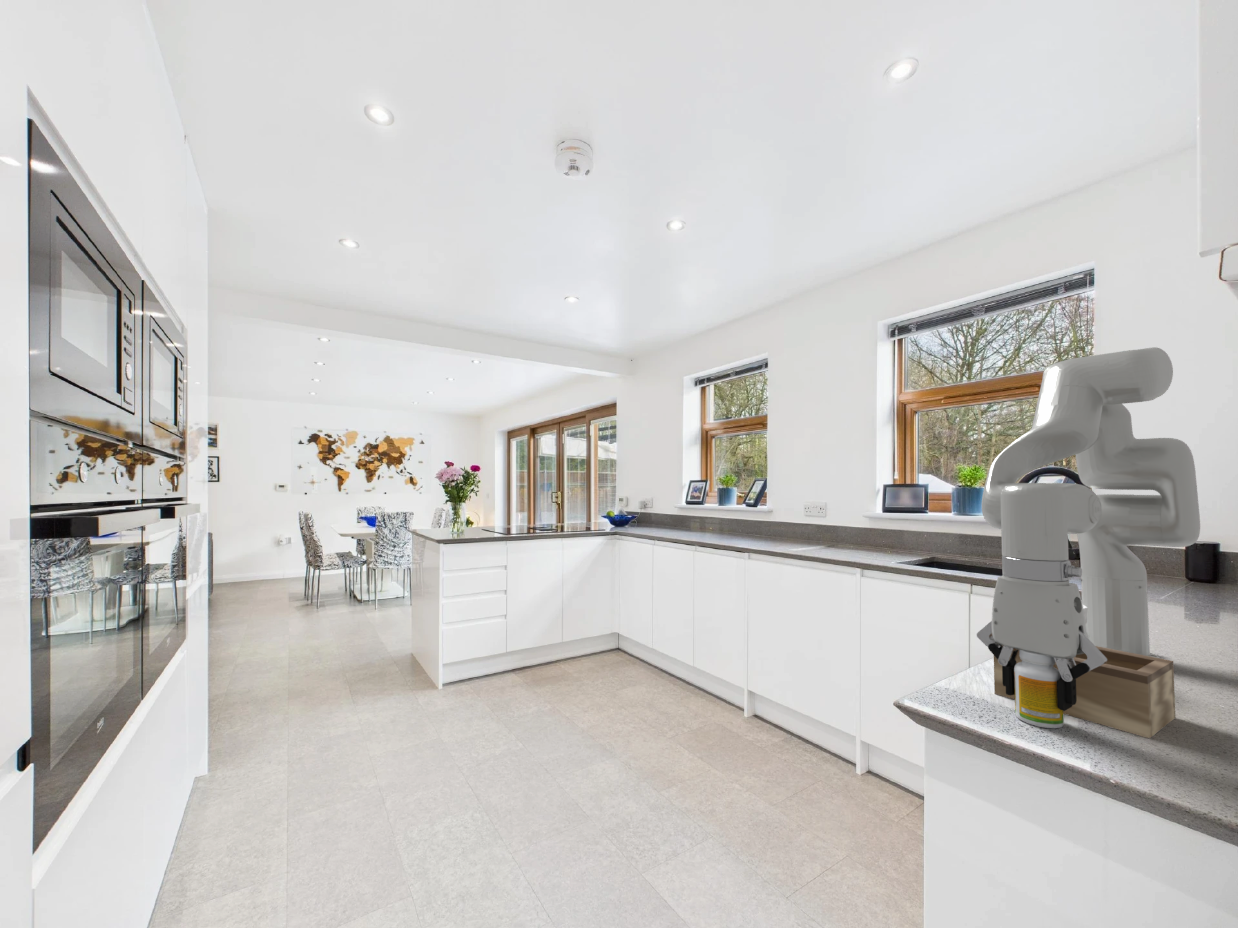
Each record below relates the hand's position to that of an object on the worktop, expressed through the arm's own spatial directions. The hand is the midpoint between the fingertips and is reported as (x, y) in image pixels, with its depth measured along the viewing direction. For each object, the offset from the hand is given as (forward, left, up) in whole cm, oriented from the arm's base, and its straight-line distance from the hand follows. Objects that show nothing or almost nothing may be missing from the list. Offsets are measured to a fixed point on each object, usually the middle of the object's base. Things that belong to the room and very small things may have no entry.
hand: (1038, 699), depth 76 cm
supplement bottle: (0, 0, -3) cm, 3 cm away
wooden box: (-12, +1, -3) cm, 12 cm away
